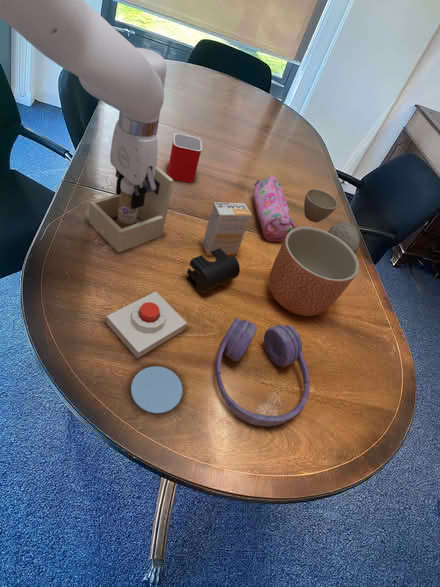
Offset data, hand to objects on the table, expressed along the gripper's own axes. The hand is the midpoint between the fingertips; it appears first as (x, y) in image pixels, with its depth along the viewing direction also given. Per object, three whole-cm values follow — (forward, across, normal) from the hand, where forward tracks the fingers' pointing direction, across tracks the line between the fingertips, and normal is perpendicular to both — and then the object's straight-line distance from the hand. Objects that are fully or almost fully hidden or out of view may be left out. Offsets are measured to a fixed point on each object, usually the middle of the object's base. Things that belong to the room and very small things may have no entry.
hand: (129, 199), depth 88 cm
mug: (+9, -15, +31) cm, 36 cm away
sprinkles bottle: (+9, 0, 0) cm, 9 cm away
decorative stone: (+9, +35, +46) cm, 58 cm away
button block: (+9, +26, -14) cm, 31 cm away
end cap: (+9, +24, +6) cm, 26 cm away
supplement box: (+9, +17, +16) cm, 25 cm away
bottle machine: (+9, 0, 0) cm, 9 cm away
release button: (+5, +26, -14) cm, 30 cm away
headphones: (+9, +48, -4) cm, 49 cm away
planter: (+9, +39, +21) cm, 45 cm away
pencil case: (+9, +15, +39) cm, 43 cm away
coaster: (+9, +38, -21) cm, 44 cm away
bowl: (+9, +21, +55) cm, 60 cm away
